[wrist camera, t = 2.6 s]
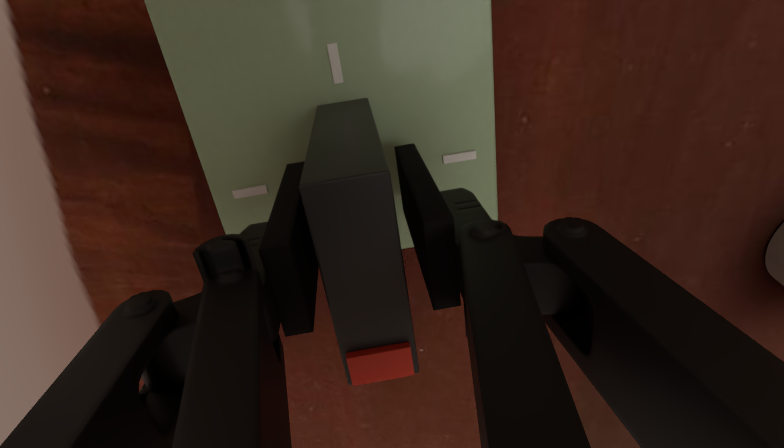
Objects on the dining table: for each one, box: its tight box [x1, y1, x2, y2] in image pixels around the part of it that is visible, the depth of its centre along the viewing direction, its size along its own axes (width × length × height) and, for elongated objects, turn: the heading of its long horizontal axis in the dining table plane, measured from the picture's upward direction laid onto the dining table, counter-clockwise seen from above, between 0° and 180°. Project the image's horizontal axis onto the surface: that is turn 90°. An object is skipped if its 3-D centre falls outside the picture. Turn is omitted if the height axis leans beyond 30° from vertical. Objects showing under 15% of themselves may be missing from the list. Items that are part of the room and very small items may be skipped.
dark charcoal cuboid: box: [299, 98, 419, 386], centre depth 15 cm, size 6×2×9 cm, turn 8°
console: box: [144, 0, 498, 249], centre depth 19 cm, size 13×12×3 cm
